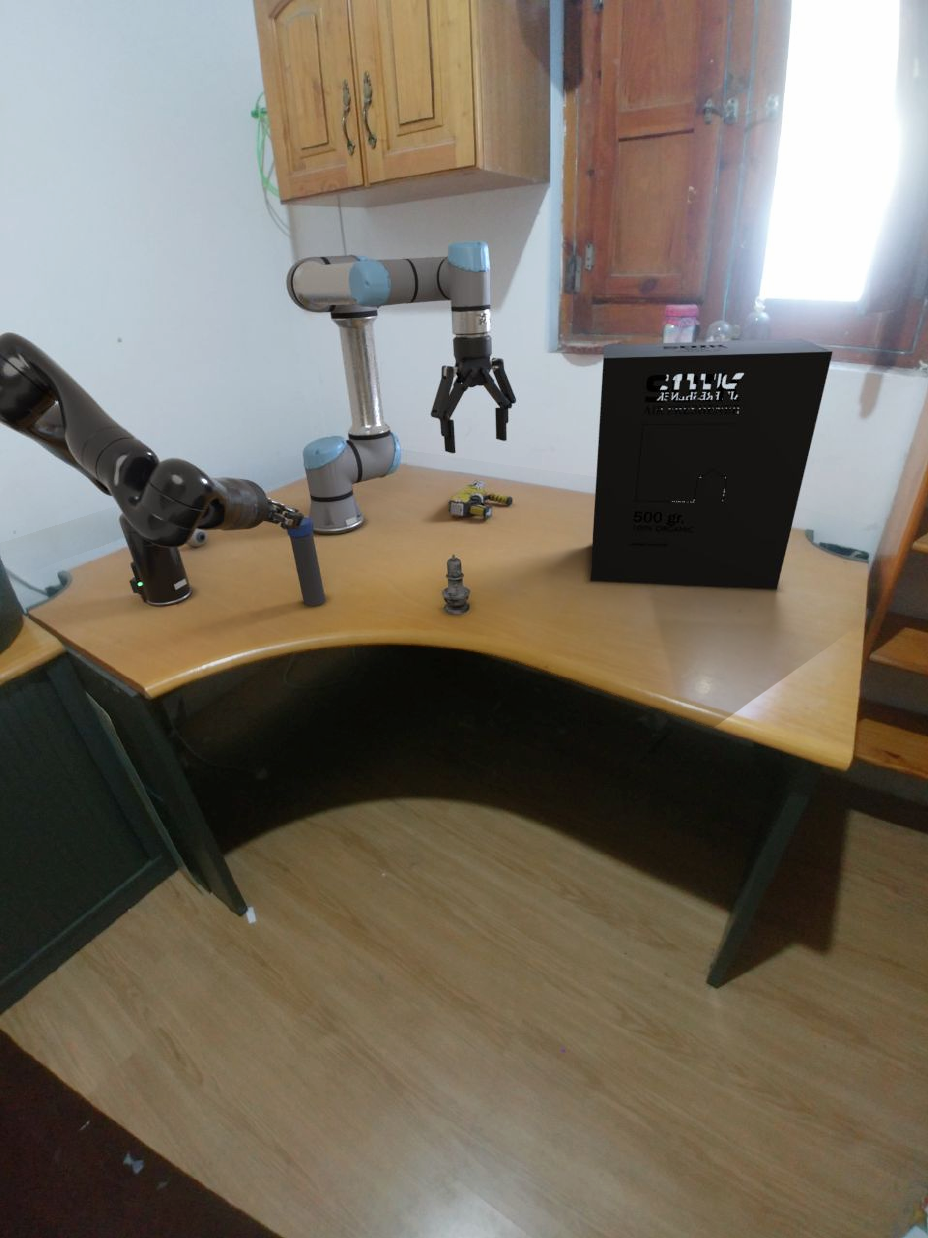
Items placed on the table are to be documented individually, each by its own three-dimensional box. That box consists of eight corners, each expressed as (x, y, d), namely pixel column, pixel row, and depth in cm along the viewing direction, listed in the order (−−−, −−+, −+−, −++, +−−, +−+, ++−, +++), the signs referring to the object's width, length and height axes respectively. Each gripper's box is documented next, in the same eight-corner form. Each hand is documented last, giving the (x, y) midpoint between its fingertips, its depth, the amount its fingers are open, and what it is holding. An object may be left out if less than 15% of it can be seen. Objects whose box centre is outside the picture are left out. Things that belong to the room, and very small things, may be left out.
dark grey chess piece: (468, 615, 121) (465, 561, 115) (439, 614, 122) (435, 559, 116) (473, 601, 126) (471, 548, 120) (446, 600, 127) (442, 547, 121)
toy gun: (520, 484, 182) (474, 477, 186) (498, 508, 162) (446, 499, 166) (519, 500, 184) (473, 492, 188) (497, 524, 164) (445, 516, 168)
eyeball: (196, 552, 157) (189, 530, 154) (181, 548, 160) (174, 526, 157) (215, 543, 161) (209, 522, 158) (200, 540, 165) (193, 519, 162)
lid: (300, 526, 125) (298, 515, 124) (319, 530, 123) (317, 519, 121) (282, 534, 121) (279, 523, 120) (300, 538, 119) (298, 527, 118)
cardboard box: (756, 549, 141) (800, 338, 118) (776, 589, 124) (832, 351, 101) (592, 544, 148) (604, 344, 126) (590, 580, 131) (603, 357, 109)
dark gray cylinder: (314, 595, 133) (299, 518, 124) (329, 599, 131) (315, 521, 122) (299, 603, 129) (282, 525, 121) (314, 608, 127) (298, 529, 118)
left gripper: (179, 507, 89) (227, 507, 105) (268, 547, 89) (302, 541, 105) (195, 459, 87) (242, 467, 103) (286, 500, 88) (318, 501, 104)
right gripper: (429, 342, 108) (437, 460, 118) (533, 329, 120) (532, 437, 131) (407, 340, 113) (417, 454, 124) (508, 328, 125) (510, 432, 136)
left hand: (272, 504), depth 104 cm, fingers open, 8 cm apart
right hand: (476, 445), depth 127 cm, fingers open, 13 cm apart
